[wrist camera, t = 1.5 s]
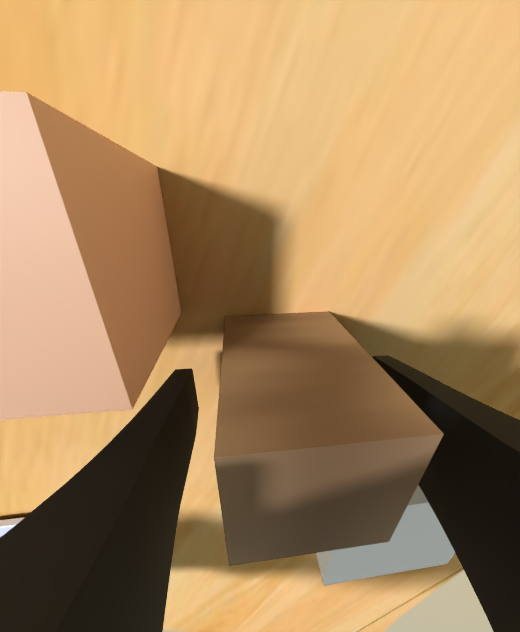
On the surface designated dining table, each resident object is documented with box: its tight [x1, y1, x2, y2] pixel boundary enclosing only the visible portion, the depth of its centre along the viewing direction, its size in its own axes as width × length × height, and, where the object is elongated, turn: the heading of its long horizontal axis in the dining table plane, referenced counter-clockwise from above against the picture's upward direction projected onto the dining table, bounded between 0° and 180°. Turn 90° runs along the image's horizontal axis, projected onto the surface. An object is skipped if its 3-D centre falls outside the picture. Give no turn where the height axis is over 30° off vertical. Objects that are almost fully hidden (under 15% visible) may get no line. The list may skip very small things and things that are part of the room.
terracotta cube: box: [0, 91, 181, 420], centre depth 6 cm, size 5×5×5 cm
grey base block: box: [316, 485, 455, 585], centre depth 14 cm, size 8×8×4 cm
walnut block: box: [214, 312, 444, 566], centre depth 8 cm, size 4×4×6 cm
